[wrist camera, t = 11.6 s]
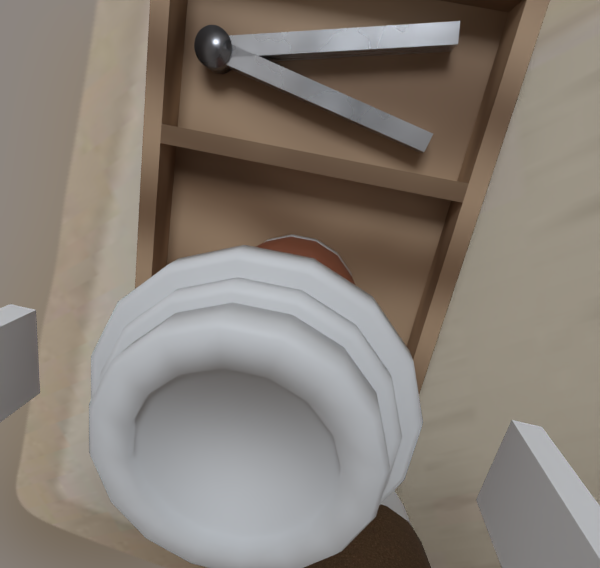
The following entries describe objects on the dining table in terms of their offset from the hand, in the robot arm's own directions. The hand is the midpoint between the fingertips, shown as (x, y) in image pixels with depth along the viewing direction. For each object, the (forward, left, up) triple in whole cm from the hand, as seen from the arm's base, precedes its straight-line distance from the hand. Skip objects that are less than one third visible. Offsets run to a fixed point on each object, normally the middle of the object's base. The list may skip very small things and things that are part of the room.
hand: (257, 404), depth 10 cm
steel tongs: (-10, 0, -10) cm, 14 cm away
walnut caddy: (-3, 0, -10) cm, 11 cm away
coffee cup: (0, 0, -10) cm, 10 cm away
